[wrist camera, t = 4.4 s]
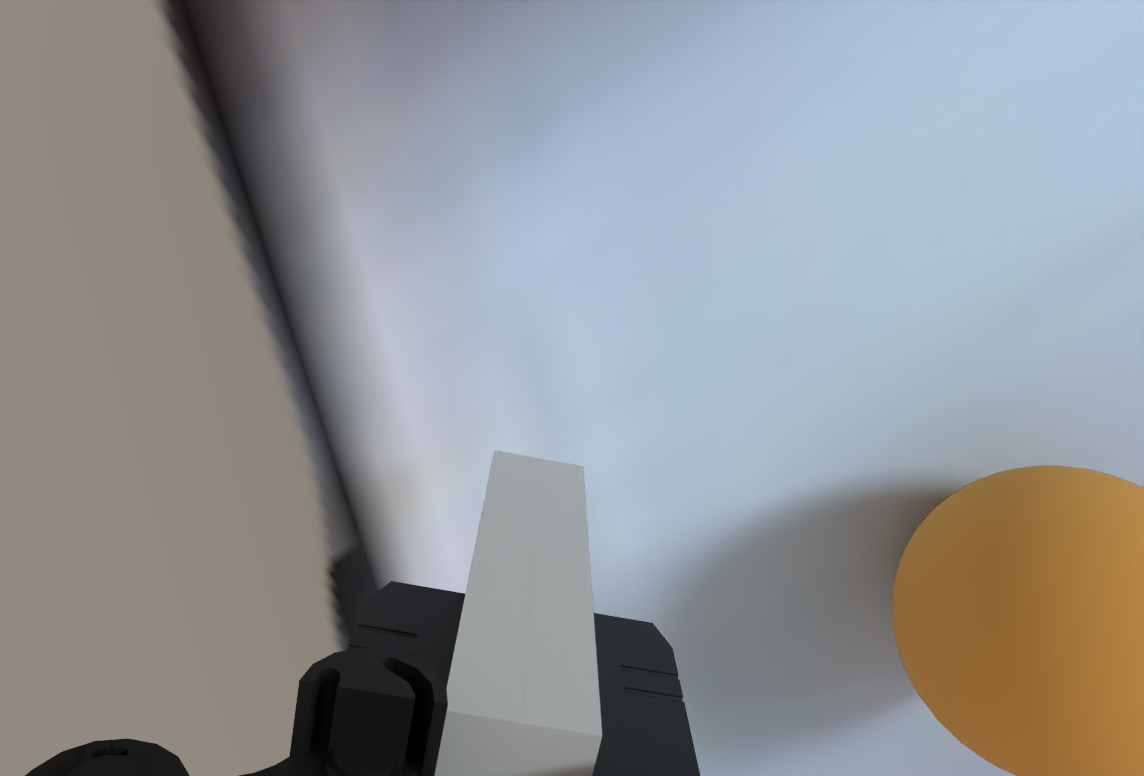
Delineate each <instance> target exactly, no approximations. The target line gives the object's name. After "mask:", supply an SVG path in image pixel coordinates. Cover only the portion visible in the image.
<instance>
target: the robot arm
mask: <svg viewBox="0 0 1144 776" xmlns="http://www.w3.org/2000/svg"><path fill="white" fill-rule="evenodd" d="M682 698H683V694H682V690H681V685H680V681H679V680H678V671H677V667H676V662H675V658H674V653H673V648H672V647H671V646H670V645H669V643H668V642H667V641H666V639H665V638H664V637H663V636H662V634H661V633H660V632H659V631H658V629H657V628H656V627H655V626H654V624H653V623H649V622H643V621H637V620H631V619H625V618H620V617H614V616H608V615H602V614H596V613H594V612H593V598H592V584H591V570H590V556H589V542H588V528H587V514H586V499H585V485H584V471H583V467H582V466H577V465H572V464H566V463H561V462H555V461H550V460H544V459H539V458H534V457H528V456H523V455H517V454H512V453H506V452H501V451H496V450H494V454H493V459H492V464H491V469H490V474H489V479H488V484H487V489H486V494H485V499H484V504H483V509H482V514H481V519H480V524H479V529H478V534H477V539H476V544H475V549H474V554H473V559H472V564H471V569H470V574H469V579H468V584H467V589H466V594H463V593H457V592H452V591H446V590H440V589H434V588H428V587H422V586H417V585H411V584H405V583H399V582H393V581H391V582H390V583H388V584H387V585H386V586H384V587H383V588H382V589H380V590H379V591H378V592H376V593H375V594H374V595H372V596H371V597H370V598H368V599H367V601H366V604H365V606H364V609H363V611H362V614H361V616H360V619H359V621H358V624H357V628H356V629H355V631H354V633H353V636H352V638H351V641H350V643H349V647H348V650H346V651H341V652H336V653H333V654H331V655H330V656H327V657H326V658H324V659H322V660H320V661H318V662H316V663H314V664H313V665H312V666H311V667H310V668H309V670H308V671H307V672H306V673H305V674H304V676H303V677H302V678H301V679H300V681H299V688H298V696H297V703H296V711H295V719H294V727H293V734H292V742H291V750H290V757H288V758H287V759H285V760H283V761H281V762H280V763H278V764H276V765H274V766H271V767H269V768H266V769H264V770H260V771H258V772H255V773H251V774H245V775H240V776H700V773H699V768H698V763H697V759H696V754H695V750H694V745H693V740H692V736H691V731H690V727H689V722H688V717H687V713H686V708H685V704H684V702H682ZM25 776H189V774H188V772H187V771H186V769H185V767H184V766H183V764H182V762H181V761H180V759H179V757H178V756H176V755H174V754H173V753H171V752H169V751H168V750H166V749H164V748H163V747H161V746H159V745H157V744H154V743H148V742H143V741H138V740H133V739H117V740H104V741H94V742H91V743H88V744H85V745H82V746H78V747H75V748H72V749H69V750H66V751H63V752H61V753H59V754H57V755H56V756H54V757H52V758H51V759H49V760H47V761H46V762H44V763H43V764H41V765H39V766H38V767H36V768H34V769H33V770H31V771H30V772H29V773H28V774H27V775H25Z"/></svg>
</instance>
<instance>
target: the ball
mask: <svg viewBox="0 0 1144 776" xmlns="http://www.w3.org/2000/svg"><path fill="white" fill-rule="evenodd" d="M892 610H893V627H894V632H895V638H896V642H897V646H898V650H899V653H900V656H901V659H902V662H903V665H904V668H905V670H906V671H907V673H908V675H909V677H910V679H911V681H912V683H913V685H914V687H915V689H916V691H917V693H918V694H919V696H920V697H921V698H922V700H923V701H924V702H925V704H926V705H927V706H928V708H929V709H930V710H931V712H932V713H933V714H934V716H935V717H936V718H937V720H938V721H939V722H940V723H941V724H942V725H943V726H944V727H945V728H946V729H948V730H949V731H950V732H951V733H952V734H953V735H954V736H955V737H956V738H957V739H958V740H959V741H960V742H961V743H962V744H964V745H965V746H967V747H968V748H969V749H971V750H972V751H974V752H975V753H976V754H978V755H979V756H981V757H982V758H984V759H985V760H987V761H988V762H990V763H992V764H994V765H996V766H998V767H1000V768H1001V769H1003V770H1005V771H1008V772H1010V773H1012V774H1014V775H1016V776H1144V488H1143V487H1141V486H1138V485H1136V484H1134V483H1131V482H1129V481H1127V480H1124V479H1122V478H1118V477H1115V476H1112V475H1109V474H1105V473H1101V472H1097V471H1094V470H1090V469H1082V468H1074V467H1065V466H1034V467H1026V468H1018V469H1011V470H1007V471H1003V472H999V473H995V474H992V475H990V476H987V477H984V478H981V479H979V480H977V481H975V482H973V483H971V484H969V485H967V486H965V487H963V488H961V489H960V490H958V491H957V492H955V493H954V494H952V495H951V496H949V497H948V498H947V499H945V500H944V501H943V502H942V503H940V504H939V505H938V506H937V507H936V508H935V509H934V510H933V511H932V512H931V513H930V514H929V515H928V516H927V517H926V518H925V519H924V520H923V522H922V523H921V524H920V525H919V527H918V528H917V529H916V531H915V532H914V534H913V535H912V537H911V539H910V540H909V542H908V544H907V546H906V548H905V550H904V552H903V555H902V557H901V559H900V563H899V566H898V570H897V574H896V578H895V582H894V589H893V596H892Z"/></svg>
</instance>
